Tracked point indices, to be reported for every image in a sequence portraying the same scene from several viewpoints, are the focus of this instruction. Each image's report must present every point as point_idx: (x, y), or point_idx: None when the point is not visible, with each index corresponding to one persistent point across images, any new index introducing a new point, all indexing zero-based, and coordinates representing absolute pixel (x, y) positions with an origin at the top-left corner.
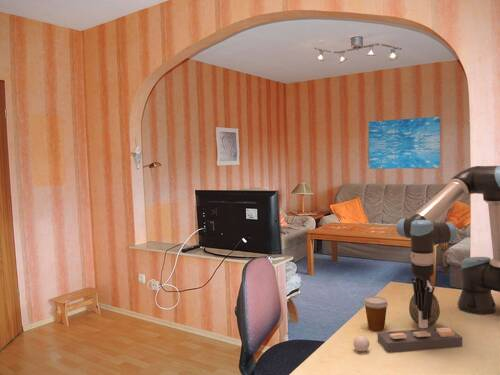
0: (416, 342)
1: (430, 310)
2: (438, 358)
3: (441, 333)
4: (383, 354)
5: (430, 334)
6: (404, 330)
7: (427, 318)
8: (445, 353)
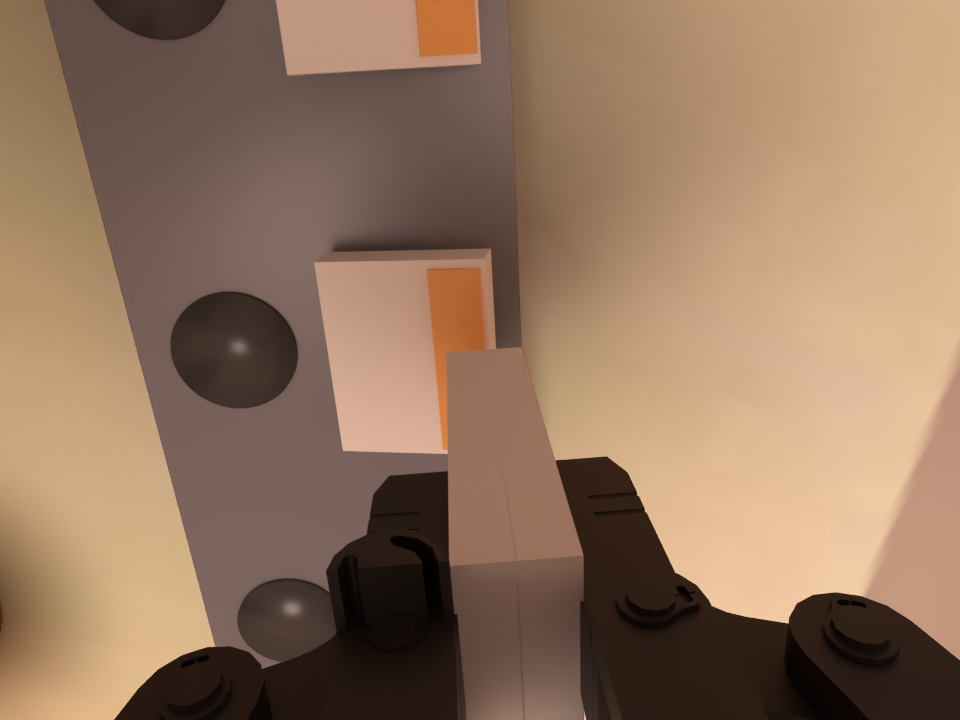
0: None
1: (859, 606)
2: (736, 239)
3: (457, 50)
4: None
5: (487, 257)
6: (178, 471)
7: (627, 474)
8: (639, 99)
